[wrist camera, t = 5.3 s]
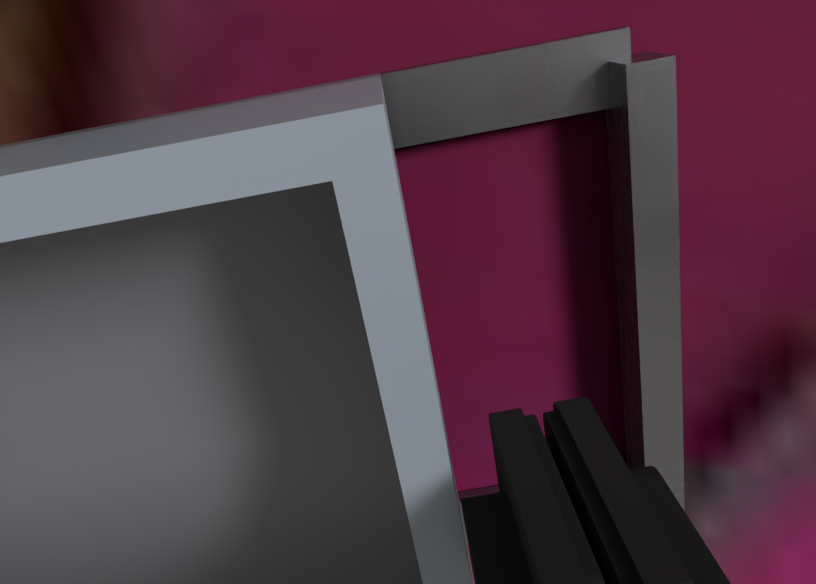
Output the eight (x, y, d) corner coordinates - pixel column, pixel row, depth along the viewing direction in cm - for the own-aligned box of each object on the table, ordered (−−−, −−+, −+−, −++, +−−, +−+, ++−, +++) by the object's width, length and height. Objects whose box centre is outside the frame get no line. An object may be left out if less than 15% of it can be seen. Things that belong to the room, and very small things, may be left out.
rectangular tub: (379, 66, 14) (383, 104, 8) (470, 557, 19) (512, 799, 13) (-249, 185, 14) (-689, 306, 8) (9, 636, 19) (-149, 907, 14)
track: (645, 22, 14) (675, 23, 13) (662, 500, 20) (685, 537, 18) (-411, 223, 15) (-490, 244, 14) (-128, 637, 20) (-164, 683, 19)
